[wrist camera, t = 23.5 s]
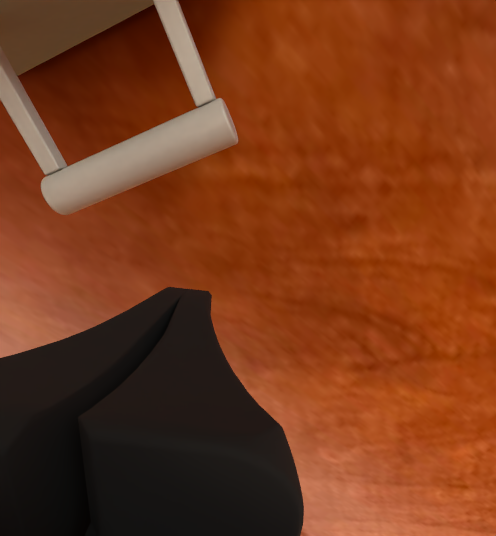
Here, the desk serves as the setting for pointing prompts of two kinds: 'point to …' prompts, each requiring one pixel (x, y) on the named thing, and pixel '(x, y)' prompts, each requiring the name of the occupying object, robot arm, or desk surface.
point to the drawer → (129, 151)
